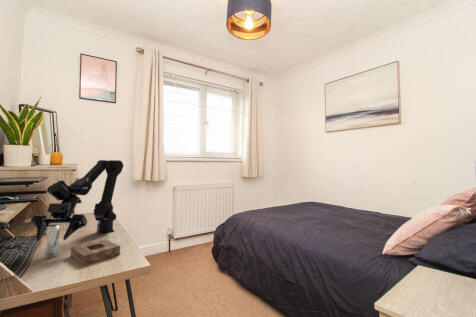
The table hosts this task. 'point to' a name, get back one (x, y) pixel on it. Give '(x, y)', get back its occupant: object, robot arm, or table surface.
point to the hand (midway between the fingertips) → (50, 240)
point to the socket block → (95, 251)
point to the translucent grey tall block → (52, 241)
